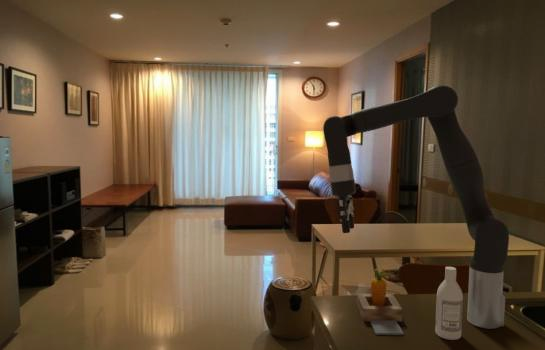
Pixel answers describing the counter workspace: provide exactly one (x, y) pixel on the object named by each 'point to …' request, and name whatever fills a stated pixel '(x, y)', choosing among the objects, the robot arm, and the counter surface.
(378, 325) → the plate
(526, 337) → the counter surface
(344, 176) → the robot arm
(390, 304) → the holder
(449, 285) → the bath foam
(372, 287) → the carrot
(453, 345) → the counter surface
